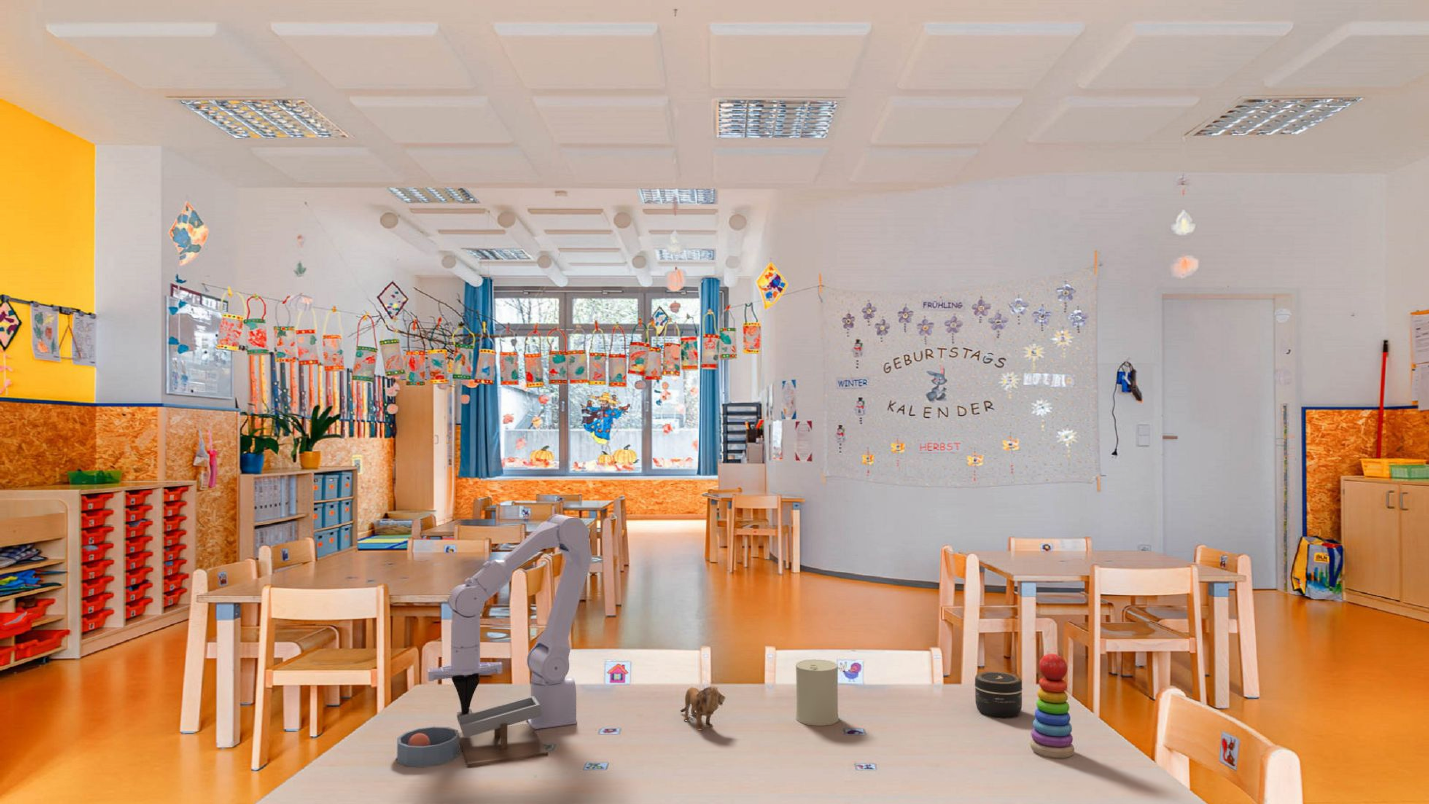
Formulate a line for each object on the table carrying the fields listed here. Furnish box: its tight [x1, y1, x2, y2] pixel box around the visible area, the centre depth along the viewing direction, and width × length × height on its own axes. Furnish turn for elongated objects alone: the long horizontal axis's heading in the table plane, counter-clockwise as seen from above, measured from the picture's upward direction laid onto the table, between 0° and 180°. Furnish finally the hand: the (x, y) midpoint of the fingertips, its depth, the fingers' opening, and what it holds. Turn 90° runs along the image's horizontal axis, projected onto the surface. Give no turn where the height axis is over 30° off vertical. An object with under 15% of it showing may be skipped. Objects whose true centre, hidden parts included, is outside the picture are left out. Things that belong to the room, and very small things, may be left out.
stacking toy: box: [1029, 653, 1075, 759], centre depth 168 cm, size 8×8×19 cm
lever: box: [456, 695, 542, 738], centre depth 175 cm, size 15×12×2 cm
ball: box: [408, 733, 430, 746], centre depth 166 cm, size 4×4×4 cm
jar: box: [974, 671, 1023, 719], centre depth 192 cm, size 10×10×8 cm
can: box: [795, 659, 840, 727], centre depth 188 cm, size 9×9×12 cm
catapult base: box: [458, 722, 549, 768], centre depth 172 cm, size 15×18×5 cm
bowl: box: [396, 726, 460, 768], centre depth 167 cm, size 11×11×4 cm
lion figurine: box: [679, 685, 726, 730], centre depth 185 cm, size 15×5×9 cm, turn 34°
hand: (465, 712), depth 177 cm, fingers closed
